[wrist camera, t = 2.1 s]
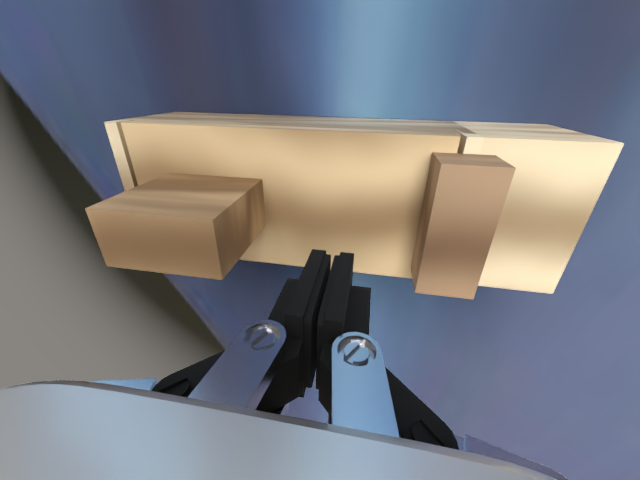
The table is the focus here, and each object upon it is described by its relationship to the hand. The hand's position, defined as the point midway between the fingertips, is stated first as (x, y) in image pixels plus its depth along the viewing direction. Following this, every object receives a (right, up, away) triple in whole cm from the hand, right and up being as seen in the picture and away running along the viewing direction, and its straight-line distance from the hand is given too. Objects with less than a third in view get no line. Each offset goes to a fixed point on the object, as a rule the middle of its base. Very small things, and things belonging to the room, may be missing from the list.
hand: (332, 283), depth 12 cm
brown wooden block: (+7, +3, +5) cm, 9 cm away
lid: (-3, +4, +7) cm, 9 cm away
